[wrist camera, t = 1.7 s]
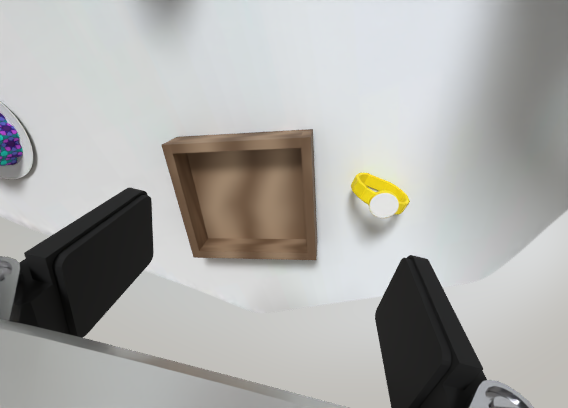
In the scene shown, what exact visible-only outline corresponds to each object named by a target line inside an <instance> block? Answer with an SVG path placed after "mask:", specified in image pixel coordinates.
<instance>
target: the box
mask: <svg viewBox="0 0 568 408" xmlns="http://www.w3.org/2000/svg"><path fill="white" fill-rule="evenodd" d="M162 148H163V152H164V155H165V159H166V162H167V166H168V169H169V173H170V176H171V180H172V183H173V187H174V190H175V194H176V197H177V201H178V204H179V208H180V211H181V215H182V218H183V222H184V225H185V229H186V232H187V236H188V239H189V243H190V246H191V250H192V253H193V257H198V258H243V259H289V260H316V256H317V222H316V198H315V173H314V149H313V129H310V130H292V131H274V132H256V133H239V134H221V135H203V136H185V137H176V138H174V139H172V140H170V141H168V142H166V143H164V144H162Z"/></svg>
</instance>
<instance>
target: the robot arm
mask: <svg viewBox="0 0 568 408" xmlns="http://www.w3.org/2000/svg"><path fill="white" fill-rule="evenodd" d="M24 254H25V257H26V259H25V260H23V261H21V262H20V263H19V262H18V261H17V260H16V259H13V258H10V257H2V256H0V408H348V407H345V406H341V405H337V404H333V403H330V402H326V401H322V400H319V399H315V398H311V397H307V396H303V395H300V394H296V393H292V392H289V391H285V390H281V389H278V388H274V387H270V386H266V385H262V384H259V383H255V382H251V381H247V380H243V379H240V378H236V377H232V376H228V375H225V374H221V373H217V372H213V371H209V370H205V369H202V368H198V367H194V366H190V365H186V364H182V363H178V362H175V361H171V360H167V359H163V358H159V357H155V356H151V355H148V354H144V353H140V352H136V351H132V350H128V349H124V348H120V347H116V346H112V345H109V344H105V343H101V342H97V341H93V340H89V339H85V338H82V337H84V336H85V335H86V334H87V333H88V332H89V331H90V330H91V329H92V328H93V327H94V326H95V324H96V323H97V322H98V321H99V320H100V319H101V318H102V317H103V315H104V314H105V313H106V312H107V311H108V310H109V308H111V306H112V305H113V304H114V303H115V302H116V300H117V299H118V298H119V297H120V296H121V295H122V294H123V293H124V292H125V291H126V289H127V288H128V287H129V286H130V285H131V284H132V283H133V282H134V280H135V279H136V278H137V277H138V276H139V275H140V274H141V272H142V271H143V270H144V269H145V268H146V267H147V266H148V265H149V263H150V262H151V260H152V258H153V231H152V206H151V198H150V197H149V196H148V195H147V193H146V192H145V191H142V190H138V189H133V188H127V189H125V190H124V191H122V192H120V193H119V194H117V195H116V196H114V197H112V198H111V199H109V200H108V201H106V202H104V203H103V204H101V205H100V206H98V207H97V208H95V209H93V210H92V211H90V212H89V213H87V214H85V215H84V216H82V217H81V218H79V219H77V220H76V221H74V222H73V223H71V224H69V225H68V226H66V227H65V228H63V229H62V230H60V231H58V232H57V233H55V234H54V235H52V236H50V237H49V238H47V239H46V240H44V241H43V242H41V243H39V244H38V245H36V246H35V247H33V248H31V249H30V250H28V251H27V252H25V253H24ZM375 320H376V326H377V331H378V336H379V342H380V348H381V352H382V358H383V364H384V369H385V375H386V380H387V385H388V391H389V396H390V402H391V407H392V408H534V407H533V406H532V405H531V403H530V402H529V401H528V400H527V399H525V398H524V397H523V396H522V395H521V394H520V393H518V392H517V391H515V390H514V389H512V388H511V387H509V386H508V385H505V384H503V383H501V382H499V381H493V380H487V379H486V377H485V375H484V373H483V371H482V370H483V367H482V365H481V363H480V361H479V359H478V357H477V355H476V354H475V352H474V350H473V348H472V346H471V344H470V342H469V340H468V338H467V336H466V334H465V332H464V330H463V328H462V326H461V324H460V322H459V320H458V318H457V316H456V314H455V312H454V310H453V308H452V306H451V304H450V302H449V300H448V298H447V296H446V294H445V292H444V290H443V288H442V286H441V284H440V282H439V280H438V278H437V276H436V274H435V272H434V270H433V268H432V266H431V264H430V262H429V261H428V259H425V258H421V257H416V256H412V255H410V256H408V257H407V258H403V259H402V260H401V261H400V263H399V265H398V267H397V269H396V271H395V273H394V275H393V278H392V280H391V282H390V284H389V286H388V288H387V290H386V292H385V294H384V296H383V298H382V300H381V302H380V304H379V306H378V308H377V310H376V314H375Z"/></svg>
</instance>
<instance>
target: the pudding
mask: <svg viewBox="0 0 568 408" xmlns="http://www.w3.org/2000/svg"><path fill="white" fill-rule="evenodd" d="M1 113H2V114H3V115H4V116H5V117H6V118H7V119H8V120H9V121H10V122H11V123H12V125H13V126H14V127H15V128H14V127H13V126H11V125H10V124H8V123H7V121H6V119H5V117H4V116H3V115H2V114H1ZM15 129H16V130H15ZM18 134H19V135H18ZM19 136H20V139H21V142H22V146H23V150H22V147H21V145H20V144H19V142H18V141H19ZM22 153H23V155H22ZM20 156H22V158H21V160H20V161H19V162H18V163H17V157H20ZM16 163H17V164H16ZM14 164H15V165H14ZM32 164H33V151H32V146H31V143H30V140H29V138H28V135H27V133H26V131H25V130H24V128H23V126H22V125H21V123H20V122H19V121H18V119H17V118H16V117H15V116H14V114H13V113H12V112H11V111H10V110H9V109H8V108H7V107H6V106H5V105H3V104H2V103H1V102H0V178H4V179H19V178H22V177H23V176H25V175H26V174H27V173H28V172H29V171H30V169H31V167H32ZM5 165H11V166H5Z"/></svg>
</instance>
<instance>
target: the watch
mask: <svg viewBox="0 0 568 408" xmlns="http://www.w3.org/2000/svg"><path fill="white" fill-rule="evenodd" d="M367 186H368V187H371V188H373V189H376V190H378V192H374V191H372V190H371V189H369V188H368V187H367ZM351 188H352V191H353V192H354V193H355V194H356V195H357V196H358V197H359V198H360V199H361V200H362V201H364V202H365V203H367V204H368V205H369V209H370V212H371V213H372V214H373V215H374V216H376V217H379V218H387V217H391V216H392V215H394V214H401V213H402V212H403V211H404V210H405V208H406V207H407V205H408V204H409V202H410V201H409V198H408V196H407V195H406V194H405V193H404V192H403V191H402V190H401V189H399V188H398V187H397V186H395V185H394V184H392V183H391V182H388V181H385V180H383V179H380V178H378V177H375V176H373V175H370V174H369V173H359V174H357V175H356V177H355V178H354V180H353V182H352V184H351Z"/></svg>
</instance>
